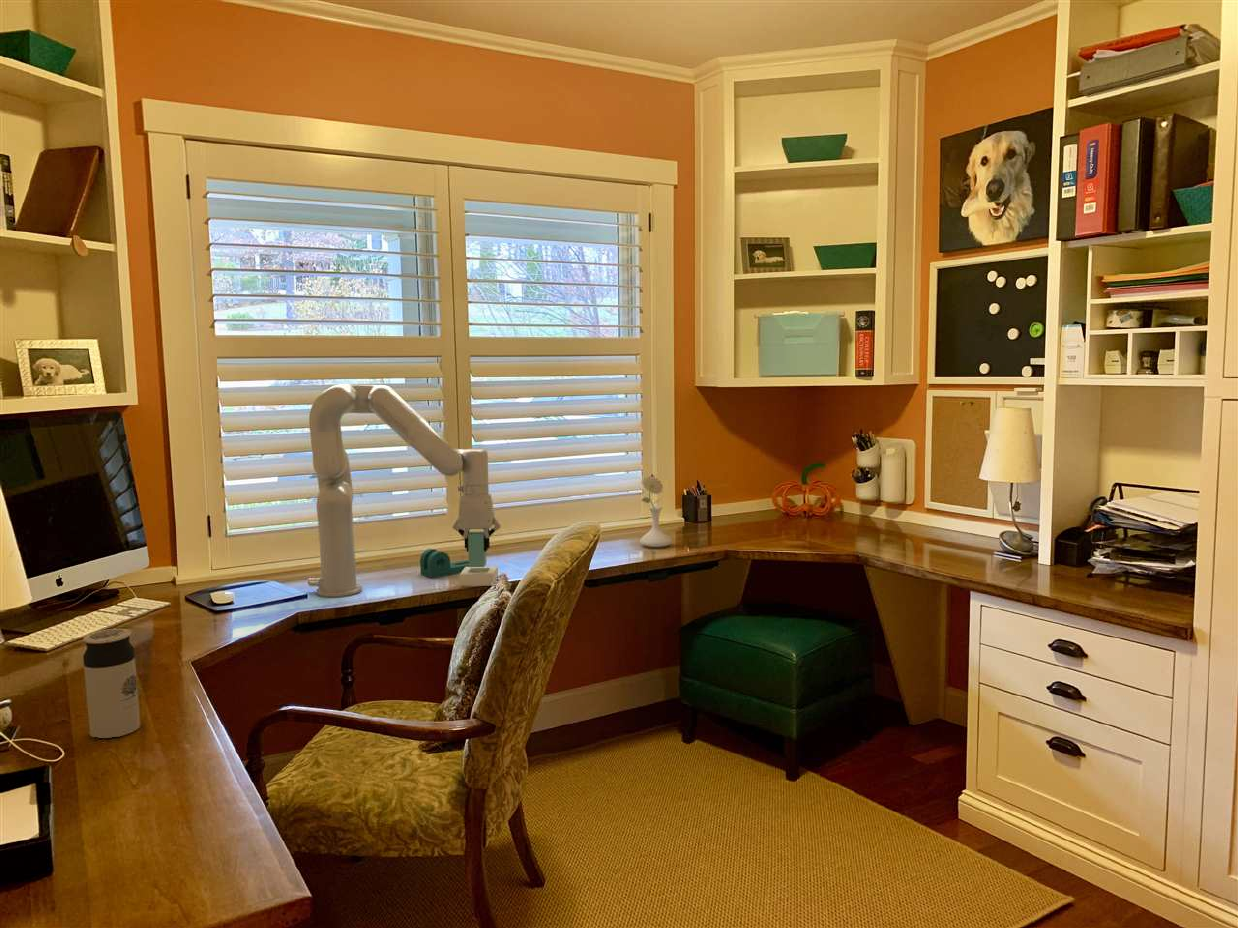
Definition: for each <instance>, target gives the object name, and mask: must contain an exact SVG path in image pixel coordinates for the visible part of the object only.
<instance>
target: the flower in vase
mask: <svg viewBox="0 0 1238 928" xmlns="http://www.w3.org/2000/svg"><path fill="white" fill-rule="evenodd" d="M641 484H642V486H643V488H645V490H646V491H648V492H649V494H648V497H647V496H644V497H643V498H642V500H641V502H644V503H647V504H649V503H651V505H652V506H649V507H648V508H647V509H648V510H649V512H650V514H651V519H652V522H651V523H652V525H651V528H650V530H649V531H648V532H647V533H645V534H644V535H643V536H642V537H641V538H640V540H639V544H640V545H641V546H645V547H648V548H662V547H663V548H664V547H666V546H669V545H671V544H672V542H673V541H672V538H671V537H670V536H668V534H666V533H665V532H664V531H663V530H661V527H660V524H659V523H660V522H659V521H660V520H659V519H660V514H661V511H662V510H663V507H662V506H654V504H657V503H658V502H660V501H661V499H657V500H655V501H654V502H652V499H651V493H652V494H656V495H658V494H660V493H662V492H663V487H664V486H663V483H662V481H661V480H659V478H656V477H655V476H654V475H652V476H651V475H646V476H645V477H643V478H642V483H641Z"/></svg>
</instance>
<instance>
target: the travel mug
mask: <svg viewBox="0 0 1238 928" xmlns="http://www.w3.org/2000/svg"><path fill="white" fill-rule="evenodd" d="M131 635H132V631H131V630H130V629H126V628H111V629H109V628H108V629H104V630H103V629H102V630H99V631H94V632H92V633H89V634H86V635H85V636H84V637H83V639H82V640H83V642H85V646H86V649H85V652H84V653H83V655H82V658H83V660H82V661H83V669H84V670H83V671H84V681H85V690H86V691H85V692H86V693H85V694H86V704H87V717H88V724H89V725H88V727H89V735H90V737H91V738H94V737H98V738H111V737H118V738H120V736H121V737H124V735H125V736H127V734H128V735H129V733H130V734H132V733H133V732H135V731H137V730H138V729H140V727H141V719H140V718H141V717H140V707H139V706H140V705H139V692H138V680H137V679H138V678H137V668H136V655H135V648H134V646H133V645H132V643H131V642H130V637H131ZM98 738H97V739H98ZM111 739H112V738H111Z"/></svg>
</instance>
